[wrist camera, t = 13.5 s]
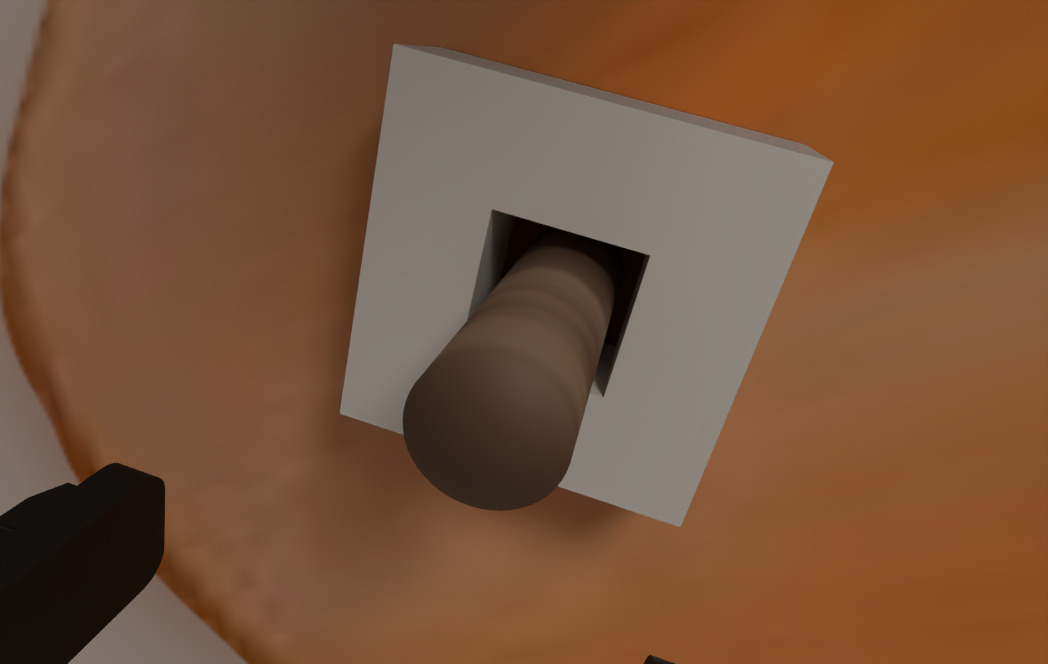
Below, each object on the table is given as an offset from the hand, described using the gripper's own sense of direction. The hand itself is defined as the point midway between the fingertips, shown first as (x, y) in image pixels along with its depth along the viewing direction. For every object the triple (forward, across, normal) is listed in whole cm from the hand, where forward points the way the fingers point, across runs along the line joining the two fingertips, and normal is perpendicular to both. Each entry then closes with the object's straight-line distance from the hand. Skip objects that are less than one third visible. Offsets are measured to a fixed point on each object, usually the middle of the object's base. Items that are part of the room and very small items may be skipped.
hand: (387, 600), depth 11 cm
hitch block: (+19, 0, 0) cm, 19 cm away
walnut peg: (+19, 0, 0) cm, 19 cm away
